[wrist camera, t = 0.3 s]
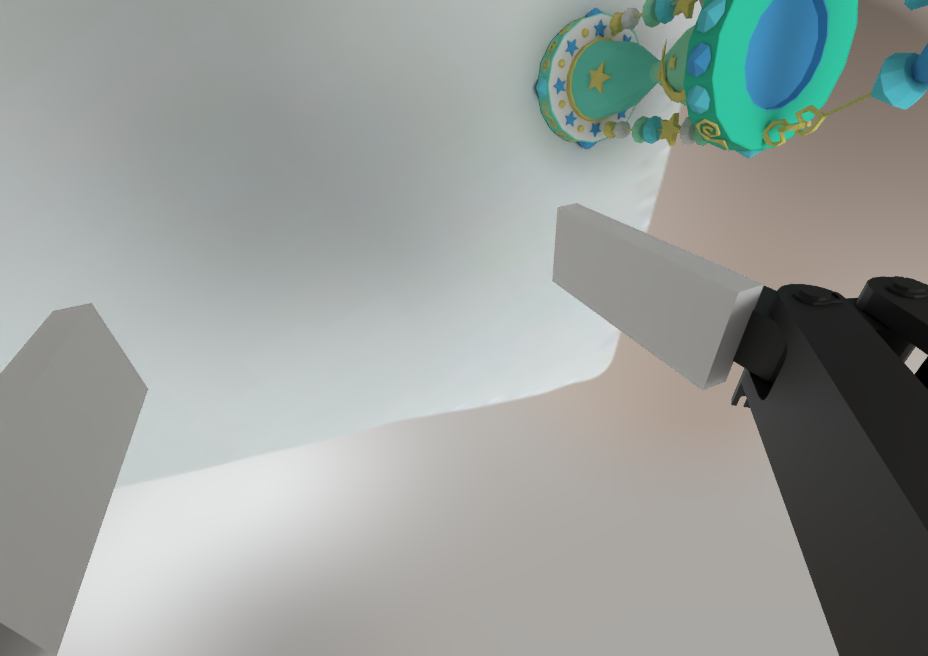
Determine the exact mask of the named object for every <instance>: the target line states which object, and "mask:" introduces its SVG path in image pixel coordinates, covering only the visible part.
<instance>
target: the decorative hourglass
mask: <svg viewBox="0 0 928 656" xmlns="http://www.w3.org/2000/svg"><path fill="white" fill-rule="evenodd" d="M696 1H698V0H646V2H645V4H644V6H643V13H641V14H639V11H638V10H637V9H636V8H628V9H627V10H626V11H625V12H624V13H616V14H615V15H614V16H612V15H608V14H605V13H603V12H602V11H600V10H599V9H597V8H595V9H593V10H592V11H591V12H590V13H589V14H588V15H587V16H586V17H583V18H580V19H578V20H575V21H573V22H571V23H570V24H568V25H567V26H566V27H565V28H564V29H563V30H562V31H561V32H560V33H559V34H558V35H557V36H556V37H555V38H554V39H553V40H552V41H551V43H550V45H549V47H548V49H547V51H546V53H545V55H544V57H543V59H542V61H541V65H540V72H539V78H538V83H537V86H536V90H537V92H538V97H539V103H540V110H541V113H542V114H543V116H544V118H545V120H546V122H547V123H548V125H549V127H550V129H551V130H552V131H554V132H555V133H556V134H558V135H559V136H561V137H562V138H563V139H565V140H568V141H573V142H579V144H580V145H581V146H582V147H584V148H585V149H589V148H591V147H592V146H593V145H595V144H596V143H597V141H601V140H603V139H605V138H612V137H615V136H616V137H617V138H624V137H626V136H627V135H628V134H629V132H630V131H632V136H633V138H634V140H635V142H638V143H642V142H644V141H646V142H648V143H651V144H652V143H654V142H656V141H658V140H659V139H664V138H666V139H667V141H668V143H669V146H673V145H675V141H676V136H677V134H678V133H680V139H681V140H682V143H683V144H686V145H690V144H692V143H694V142H696V143H697V144H698V145H702V146H704V145H706V144H707V143H710V144H712V145H715V146H717V147H719V148H721V149H724V150H728V151H729V150H735V151H737V152H738V153H740V154H742V155H743V156H745V157H747V158H751V157H753V156H754V155H756V154H757V153H759V152H761V151H763V150H764V149H768V148H775V147H777V146H779V145H781V144H784V143H786V141H787V140H788V139H790V138H791V137H793V136H794V135H796V134H798V135H801V136H805V135H807V134H809V133H811V132H814V131H816V129H817V128H818V127H819V125H820V124H821V123H822V122H823V120H824V119H825V118H826V116H828V115H830V114H832V113H834V112H837V111H839V110H841V109H843V108H845V107H847V106H850V105H852V104H854V103H856V102H858V101H860V100H863V99H865V98H867V97H869V96H872V97H874V98H876V99H878V100H881V101H883V102H885V103H888V104H890V105H892V106H895V107H899V108H902V109H905V110H906V109H907V108H909V107H910V106H912V105H913V104H915V103H916V101H918V100H919V99H920V98H921V97H922V95H923V94H924V93H925V92H926V91H927V90H928V44H927V45H926V47H925V48H924V50H923V51H922V53H921V54H920V55H918V54H916V53H895V54H893V55H892V56H890V57H888V58H887V59H885V61H884V63H883V65H882V68H881V70H880V73H879V75H878V78H877V80H876V82H875V85H874V87H873V89H872V92H871V93H869V94H867V95H865V96H863V97H860V98H858V99H856V100H854V101H852V102H850V103H848V104H845V105H843V106H841V107H839V108H837V109H835V110H833V111H830V112H828V113H826V114H824V113H822V112H821V111H820V109H821V107H822V106H823V105H824V104H825V103H826V101H827V99H828V97H829V96H830V94H831V92H832V90H833V88H834V86H835V84H836V82H837V80H838V78H839V77H840V75H841V73H842V71H843V69H844V67H845V64H846V61H847V58H848V54H849V51H850V47H851V44H852V40H853V37H854V33H855V30H856V27H857V15H858V0H699V1H700V4H701V7H702V9H701V12H700V14H699V17H698V20H697V22H696V25H694V26H693V27H691V28H689V29H688V30H687V31H686V32H685V33H684V34H683V35H682V36H681V38H680V39H679V40H678V41H677V42H676V43H675V44H674V46H673V47H672V48H671V49H670V50H669V51H668V52H667V54H666V55H665V49H666V42H665V45H664V48H663V51H662V59H661V60H660V61H659V60H658V59H657V58H656V57H654V56H653V55H652V54H651V53H650V52H649V51H647V50H646V49H645V48H644V47H642V46H641V45H639V43H638V40H637V37H636V35H635V32H634V31H633V30H632V29H633V28H634V27H635V26H636V25H637V24H638V22H639V19H640V16H642V17H643V19H644V22H645V24H646V25H647V26H649V27H654V26H656V25H658V24H659V23H660V22H662V23H664V24H666V23H668V22H670V21H671V20H672V19H673V18H674V16H675V15H679V14H680V13H682V12H683V14H684V16H685V17H686V19H687V18H692V14H693V9H694V3H695V2H696ZM904 4H905V5H906V6H907V7H908V8H909V9H910V10H913V9H917V8H920V7H923V6H926V5H928V0H905V3H904ZM666 41H667V39H666ZM657 83H659V84H660V85H661V86H662V87H663V88H664V91H665V93H666V94H667V96H668V97H669V98H670V99H671V101H674V102H677V103H679V102H680V103H682V104H684V105H686V106H687V109H688V115H689V117H687V118H686V119H685V121H684V123H683V124H682V126H679V125H678V121H679V113H674V114H673V116H672V117H671V118H670V120H669V121H668V120H662V119H661V118H660V117H657V116H653V117H652V118H650V119H649V118H647V117H644V116H643V117H641V118H639V119H637V121H636V122H635V124H634V126H633V129H630V125H629V123H628V122H627V120H628V119H629V117H630V115H631V113H632V112H633V110H634V108H635V106H636V105H637V104H638V103H639V102H640V101H641V99H642V98H643V97H644V96H645V95H646V94H647V93H648V92H649V91H650V90H651V89H652V88H653V87H654V86H655V85H656V84H657ZM815 115H817V116H819V117H818V119H817V120H816V122H815V123H814V124H813V126H812V127H811V129H810V130H804V131H803V129H804V128H806V127H808V126H811V119H812V118H813V117H814V116H815Z"/></svg>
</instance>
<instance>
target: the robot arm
mask: <svg viewBox="0 0 928 656" xmlns="http://www.w3.org/2000/svg"><path fill="white" fill-rule="evenodd" d="M552 281H553V282H555V283H556V284H557V285H559V286H560V287H562V288H563V289H564V290H566V291H567V292H568V293H570V294H571V295H572V296H574V297H575V298H577V299H578V300H579V301H581V302H582V303H583V304H585V305H586V306H588V307H589V308H590V309H592V310H593V311H594V312H596V313H597V314H599V315H600V316H601V317H603V318H604V319H605V320H607V321H608V322H609V323H611V324H612V325H614V326H615V327H616V328H618V329H619V330H620V331H622V332H623V333H625V334H626V335H627V336H629V337H630V338H632V339H633V340H634V341H636V342H637V343H638V344H640V345H641V346H642V347H644V348H645V349H647V350H648V351H649V352H651V353H652V354H653V355H655V356H656V357H657V358H659V359H660V360H662V361H663V362H664V363H666V364H667V365H668V366H670V367H671V368H673V369H674V370H675V371H677V372H678V373H679V374H681V375H682V376H684V377H685V378H686V379H688V380H689V381H690V382H692V383H693V384H694V385H696V386H697V387H699V388H700V389H701V390H706V389H708V388H710V387H713V386H715V385H718V384H720V383H723V382H725V381H726V379H727V376H728V374H729V371H730V369H731V366H732V364H733V361H734V362H736V363H738V364H740V365H741V366H743V367H744V371H743V373H742V375H741V378H740V380H739V383H738V385H737V387H736V390H735V392H734V394H733V397H732V403H731V404H732V405H735V406H736V405H737V403H738V401H739V399H740V397H741V396H746V397H747V399H746V402H745V404H744V407H748V408H751V411H752V414H753V417H754V420H755V422H756V425H757V428H758V431H759V433H760V436H761V439H762V442H763V444H764V447H765V450H766V453H767V455H768V458H769V461H770V464H771V467H772V470H773V472H774V475H775V478H776V481H777V484H778V486H779V489H780V492H781V495H782V497H783V500H784V503H785V506H786V509H787V511H788V514H789V517H790V520H791V523H792V525H793V528H794V531H795V534H796V536H797V539H798V542H799V545H800V548H801V550H802V553H803V556H804V559H805V562H806V564H807V567H808V570H809V573H810V575H811V578H812V581H813V584H814V587H815V589H816V592H817V595H818V598H819V600H820V603H821V606H822V609H823V612H824V614H825V617H826V620H827V623H828V626H829V628H830V631H831V634H832V637H833V639H834V642H835V645H836V648H837V651H838V653H839V656H928V357H927V359H926V360H925V361H924V362H923V364H922V365H921V366H920V368H919V369H918V371H917V372H916V373H915V375H914V374H913V373H912V371H911V370H910V369H909V368H908V367H907V366H906V365H905V363H904V362H905V361H906V360H907V358H908V357H909V355H910V354H911V353H912V351H913V350H914V348H915V347H917V348H919V349H921V350H922V351H923V352H924V353H926V354H927V355H928V285H927V284H923V283H921V282H919V281H916V280H914V279H910V278H904V277H898V276H895V277H875V278H872V279H870V280H868V281H867V283H866V285H865V286H864V288H863V290H862V292H861V294H860V295H859V297H858V298H848V299H846V298H844V297H843V296H842V295H841V294H839V293H837V292H833V291H831V290H828V289H825V288H821V287H818V286H812V285H805V284H789V285H785V286H782V287H780V288H779V289H778V290H777V291H775V290H773V289H771V288H768V287H766V286H764V284H763V283H761V282H758V281H756V280H754V279H751V278H749V277H747V276H744V275H742V274H740V273H737V272H735V271H733V270H730V269H728V268H726V267H723V266H721V265H719V264H716V263H714V262H712V261H709V260H707V259H705V258H703V257H700V256H698V255H696V254H693V253H691V252H689V251H686V250H684V249H681V248H679V247H677V246H675V245H672V244H670V243H668V242H665V241H663V240H660V239H658V238H656V237H654V236H651V235H649V234H647V233H644V232H642V231H640V230H637V229H635V228H633V227H631V226H628V225H626V224H624V223H621V222H619V221H617V220H614V219H612V218H610V217H607V216H605V215H603V214H600V213H598V212H596V211H593V210H591V209H589V208H586V207H584V206H582V205H579V204H577V203H576V204H572V205H567V206H562V207H558V210H557V224H556V238H555V252H554V266H553V280H552ZM147 390H148V388H147V386H146V385H145V383H144V382H143V380H142V379H141V377H140V376H139V374H138V373H137V371H136V370H135V368H134V367H133V365H132V364H131V362H130V361H129V359H128V358H127V356H126V354H125V353H124V351H123V350H122V348H121V347H120V345H119V344H118V342H117V341H116V339H115V338H114V336H113V335H112V333H111V332H110V330H109V329H108V327H107V326H106V324H105V323H104V321H103V320H102V318H101V316H100V315H99V313H98V312H97V310H96V309H95V307H94V306H93V304H92V303H90V304H86V305H81V306H76V307H71V308H66V309H61V310H56V311H53V312H52V313H51V314H50V315H49V317H48V318H47V319H46V320H45V321H44V323H43V324H42V325H41V326H40V327H39V328H38V330H37V331H36V332H35V333H34V334H33V336H32V337H31V338H30V339H29V340H28V342H27V343H26V344H25V345H24V346H23V348H22V349H21V350H20V351H19V352H18V353H17V355H16V356H15V357H14V358H13V359H12V361H11V362H10V363H9V364H8V365H7V367H6V368H5V369H4V370H3V371H2V373H1V374H0V656H57V653H58V650H59V647H60V644H61V641H62V638H63V635H64V632H65V630H66V627H67V624H68V621H69V618H70V615H71V612H72V609H73V606H74V603H75V601H76V597H77V594H78V592H79V589H80V586H81V583H82V580H83V577H84V574H85V571H86V568H87V565H88V562H89V559H90V557H91V554H92V551H93V548H94V545H95V542H96V539H97V536H98V533H99V530H100V528H101V525H102V522H103V519H104V516H105V513H106V510H107V507H108V504H109V501H110V498H111V495H112V492H113V490H114V487H115V484H116V481H117V478H118V475H119V472H120V469H121V466H122V463H123V460H124V458H125V455H126V452H127V449H128V446H129V443H130V440H131V437H132V434H133V431H134V428H135V425H136V422H137V420H138V417H139V414H140V411H141V408H142V405H143V402H144V399H145V396H146V393H147Z"/></svg>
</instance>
